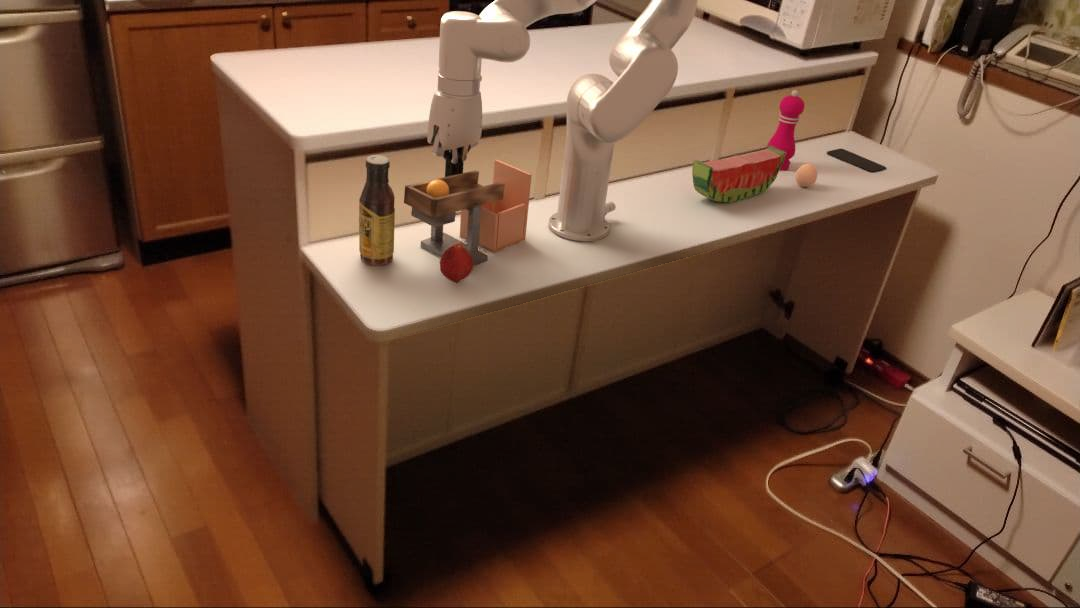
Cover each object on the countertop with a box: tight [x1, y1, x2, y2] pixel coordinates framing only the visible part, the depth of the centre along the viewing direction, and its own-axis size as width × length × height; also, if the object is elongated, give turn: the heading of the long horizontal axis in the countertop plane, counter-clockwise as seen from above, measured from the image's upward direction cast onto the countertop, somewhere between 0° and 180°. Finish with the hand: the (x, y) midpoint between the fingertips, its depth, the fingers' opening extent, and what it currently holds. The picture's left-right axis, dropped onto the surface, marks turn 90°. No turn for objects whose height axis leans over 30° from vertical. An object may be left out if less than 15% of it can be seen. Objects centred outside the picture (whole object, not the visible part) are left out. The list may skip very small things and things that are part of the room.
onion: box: [439, 241, 474, 284], centre depth 147 cm, size 6×6×8 cm
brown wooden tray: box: [403, 169, 505, 227], centre depth 153 cm, size 18×12×6 cm, turn 139°
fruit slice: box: [691, 145, 786, 204], centre depth 193 cm, size 26×6×10 cm, turn 126°
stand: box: [420, 203, 489, 268], centre depth 155 cm, size 6×12×12 cm, turn 49°
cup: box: [459, 159, 533, 254], centre depth 162 cm, size 9×9×14 cm
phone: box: [826, 148, 887, 173], centre depth 226 cm, size 7×1×15 cm
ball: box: [427, 178, 449, 198], centre depth 148 cm, size 4×4×4 cm
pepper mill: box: [766, 89, 805, 171], centre depth 211 cm, size 7×7×20 cm
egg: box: [794, 162, 818, 188], centre depth 204 cm, size 5×5×6 cm
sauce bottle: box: [358, 154, 396, 266], centre depth 148 cm, size 7×6×20 cm
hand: (453, 179), depth 159 cm, fingers closed
